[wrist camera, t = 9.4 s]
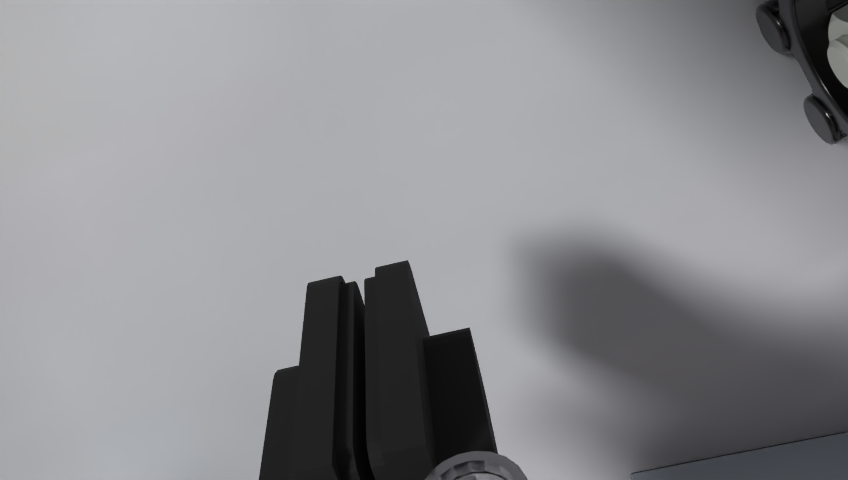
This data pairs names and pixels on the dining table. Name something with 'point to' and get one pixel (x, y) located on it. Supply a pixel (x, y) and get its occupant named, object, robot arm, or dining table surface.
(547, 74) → the dining table surface
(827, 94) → the valve
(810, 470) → the tray frame
